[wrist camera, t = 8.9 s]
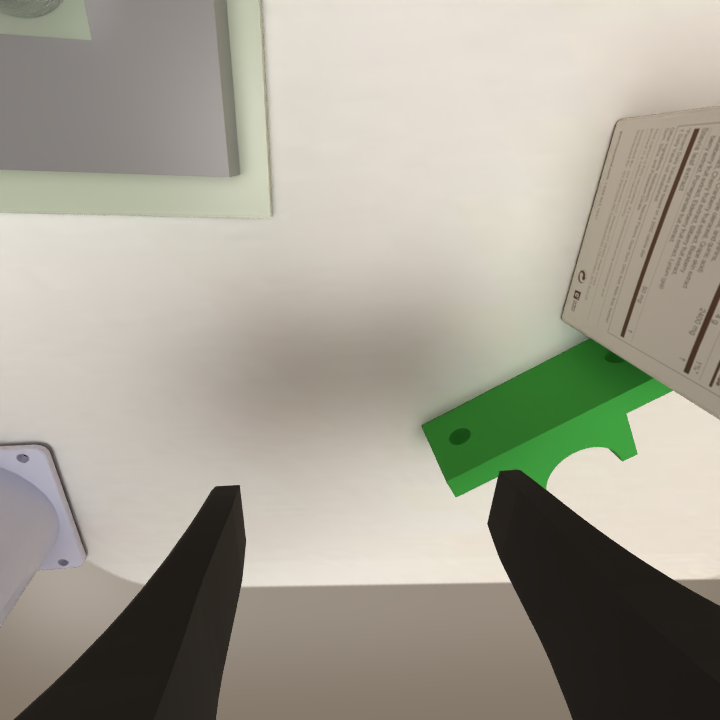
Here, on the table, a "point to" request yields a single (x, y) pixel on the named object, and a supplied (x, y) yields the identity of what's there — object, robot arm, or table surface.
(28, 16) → the silver metal cylinder
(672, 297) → the supplement box
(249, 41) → the dock
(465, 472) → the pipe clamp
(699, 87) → the table surface
